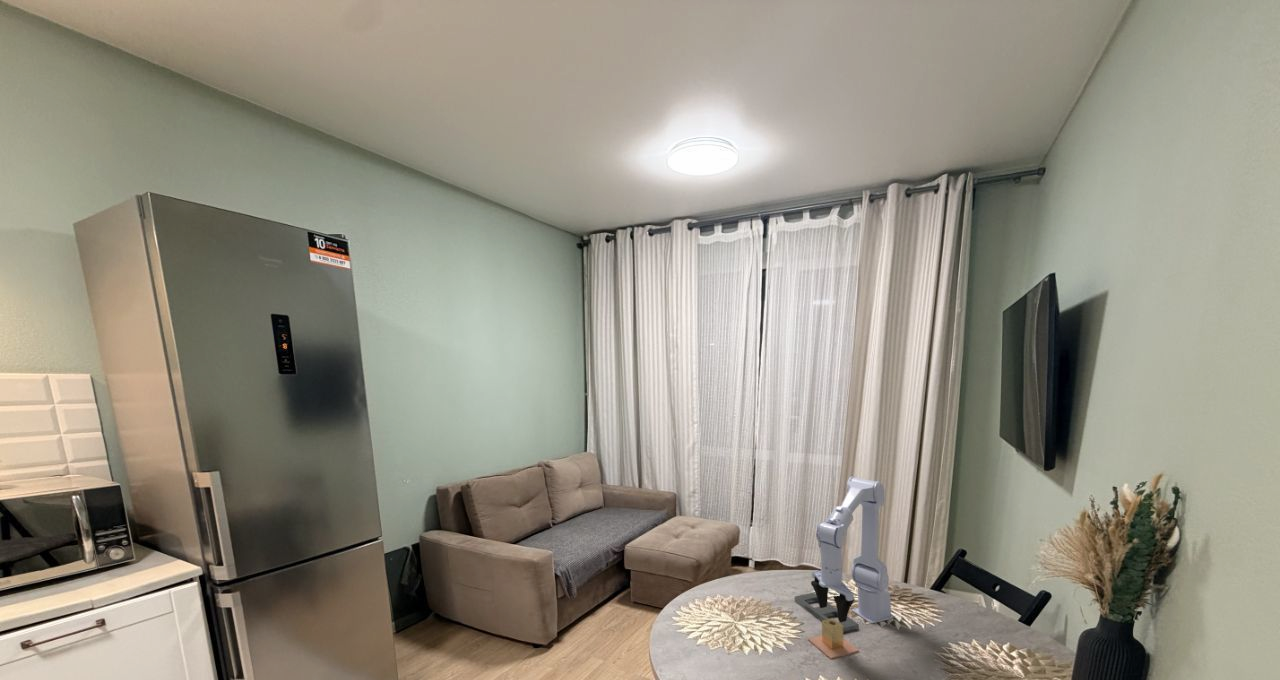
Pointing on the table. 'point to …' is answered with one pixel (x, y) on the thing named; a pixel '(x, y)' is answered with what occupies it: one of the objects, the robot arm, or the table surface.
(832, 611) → the metal rail
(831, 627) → the cube with round inset
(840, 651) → the terracotta mat
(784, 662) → the table surface
